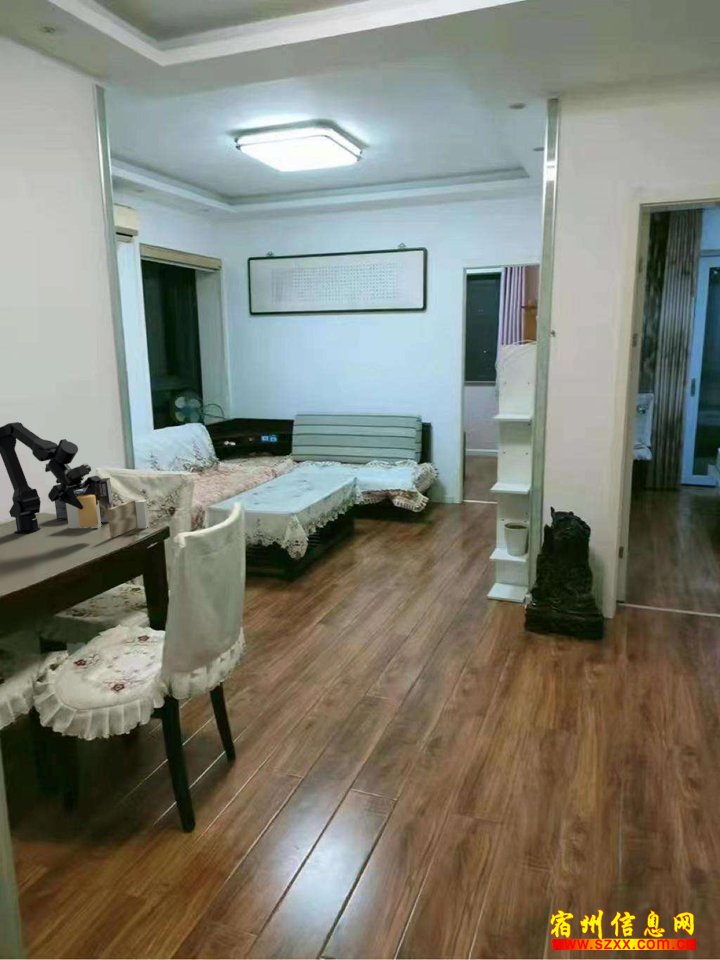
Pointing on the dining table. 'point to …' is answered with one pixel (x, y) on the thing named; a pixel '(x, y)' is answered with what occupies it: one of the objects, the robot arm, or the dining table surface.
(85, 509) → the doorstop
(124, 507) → the door
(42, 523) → the dining table surface
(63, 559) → the dining table surface
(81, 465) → the robot arm
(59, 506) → the small box
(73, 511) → the wall frame
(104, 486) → the coffee box
